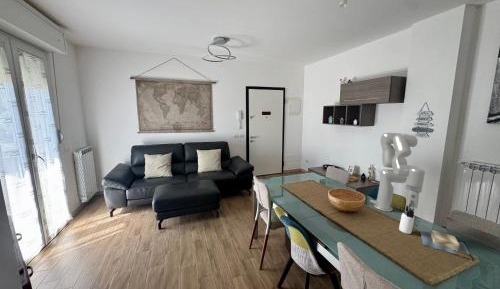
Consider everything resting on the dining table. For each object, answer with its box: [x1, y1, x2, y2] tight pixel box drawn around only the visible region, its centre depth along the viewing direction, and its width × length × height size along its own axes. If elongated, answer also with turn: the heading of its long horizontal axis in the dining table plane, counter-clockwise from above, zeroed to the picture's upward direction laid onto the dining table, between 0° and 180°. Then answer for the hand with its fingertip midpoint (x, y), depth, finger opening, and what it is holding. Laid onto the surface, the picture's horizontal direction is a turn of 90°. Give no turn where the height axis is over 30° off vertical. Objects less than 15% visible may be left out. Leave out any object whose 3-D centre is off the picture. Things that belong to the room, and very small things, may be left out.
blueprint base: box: [419, 229, 471, 255], centre depth 120 cm, size 20×18×5 cm
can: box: [398, 211, 415, 235], centre depth 131 cm, size 6×6×12 cm
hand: (409, 214), depth 129 cm, fingers open, 9 cm apart
